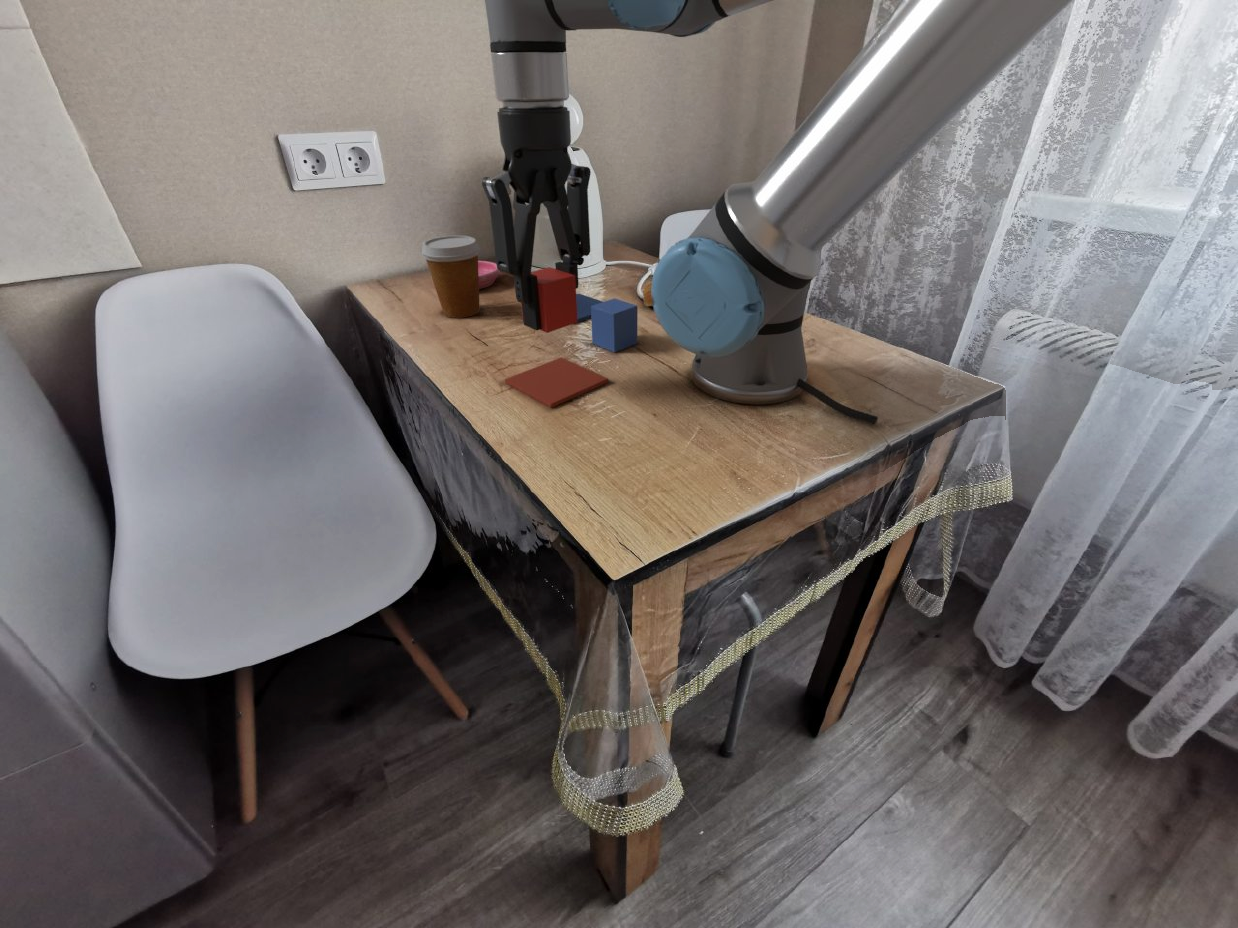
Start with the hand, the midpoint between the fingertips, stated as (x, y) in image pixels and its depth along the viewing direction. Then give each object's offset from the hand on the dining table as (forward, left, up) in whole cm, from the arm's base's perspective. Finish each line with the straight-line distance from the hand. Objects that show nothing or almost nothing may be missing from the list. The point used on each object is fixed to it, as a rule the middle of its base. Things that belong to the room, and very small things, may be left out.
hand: (550, 320), depth 71 cm
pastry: (+12, -35, -9) cm, 38 cm away
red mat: (0, 0, -9) cm, 9 cm away
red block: (0, 0, 0) cm, 0 cm away
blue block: (+4, -15, -9) cm, 18 cm away
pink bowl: (+47, -16, -9) cm, 50 cm away
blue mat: (+20, -21, -9) cm, 30 cm away
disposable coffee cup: (+34, -6, -9) cm, 36 cm away
